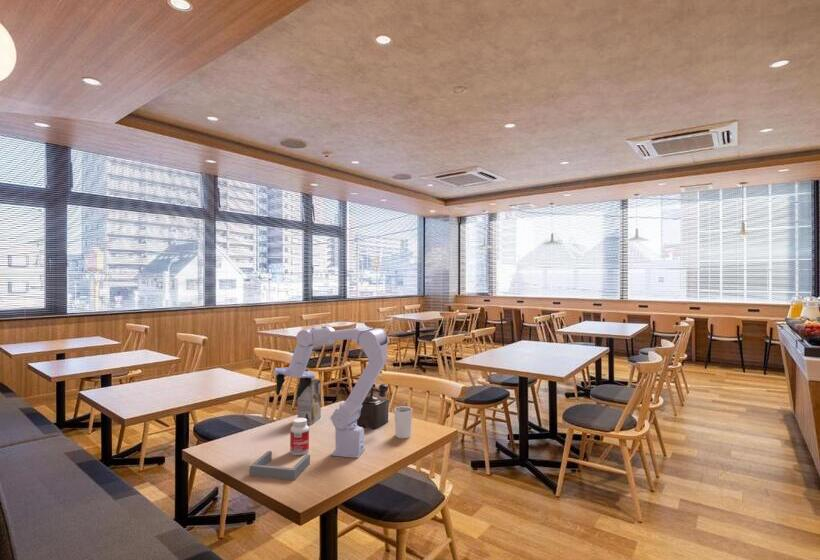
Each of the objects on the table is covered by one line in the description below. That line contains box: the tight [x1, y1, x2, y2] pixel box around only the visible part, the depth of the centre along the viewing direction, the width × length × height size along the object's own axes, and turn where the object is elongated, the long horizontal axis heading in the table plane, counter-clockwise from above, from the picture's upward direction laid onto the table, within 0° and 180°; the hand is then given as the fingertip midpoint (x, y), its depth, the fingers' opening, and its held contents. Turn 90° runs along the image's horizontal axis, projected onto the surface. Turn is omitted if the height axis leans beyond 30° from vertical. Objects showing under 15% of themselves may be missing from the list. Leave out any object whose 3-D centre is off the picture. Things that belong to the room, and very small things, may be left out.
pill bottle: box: [289, 417, 310, 456], centre depth 149 cm, size 6×6×11 cm
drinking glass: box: [394, 405, 413, 439], centre depth 165 cm, size 7×7×10 cm
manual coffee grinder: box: [357, 383, 390, 430], centre depth 176 cm, size 16×11×18 cm
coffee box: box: [297, 379, 322, 426], centre depth 180 cm, size 9×6×16 cm
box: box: [249, 450, 311, 481], centre depth 136 cm, size 14×11×3 cm
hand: (287, 394), depth 157 cm, fingers open, 7 cm apart
